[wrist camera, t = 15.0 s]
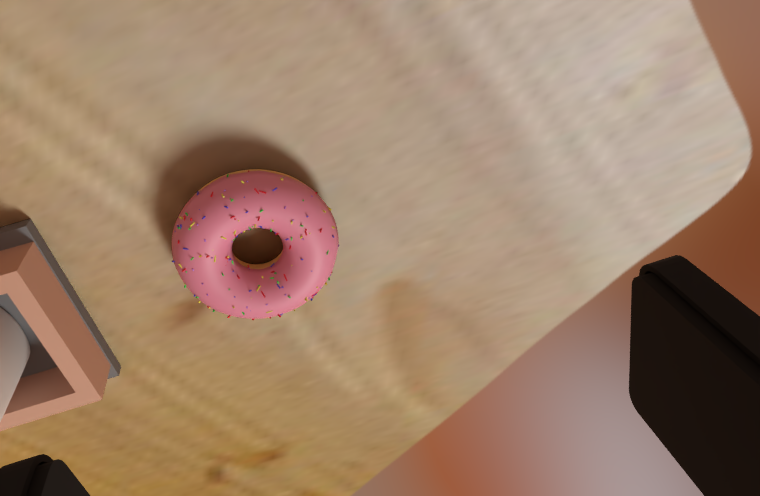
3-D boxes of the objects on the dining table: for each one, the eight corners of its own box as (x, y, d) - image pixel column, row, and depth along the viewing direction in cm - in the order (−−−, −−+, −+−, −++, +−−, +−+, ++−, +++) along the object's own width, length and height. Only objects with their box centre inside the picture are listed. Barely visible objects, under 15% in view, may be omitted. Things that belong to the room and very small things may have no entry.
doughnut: (340, 161, 40) (351, 185, 37) (328, 296, 45) (336, 329, 42) (169, 156, 38) (163, 182, 34) (178, 300, 43) (173, 336, 39)
